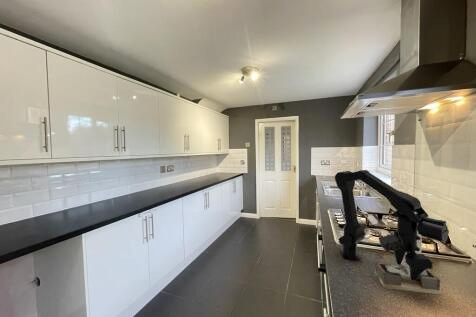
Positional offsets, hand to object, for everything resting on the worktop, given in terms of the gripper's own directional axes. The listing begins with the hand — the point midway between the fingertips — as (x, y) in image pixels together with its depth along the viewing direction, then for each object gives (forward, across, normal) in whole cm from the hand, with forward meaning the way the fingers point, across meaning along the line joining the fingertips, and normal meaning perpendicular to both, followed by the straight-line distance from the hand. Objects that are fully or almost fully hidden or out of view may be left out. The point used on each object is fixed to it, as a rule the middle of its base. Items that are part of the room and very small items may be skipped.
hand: (405, 271), depth 76 cm
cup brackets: (+3, 0, 0) cm, 3 cm away
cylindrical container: (+5, -14, +8) cm, 17 cm away
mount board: (+4, 0, 0) cm, 4 cm away
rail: (0, 0, 0) cm, 0 cm away
